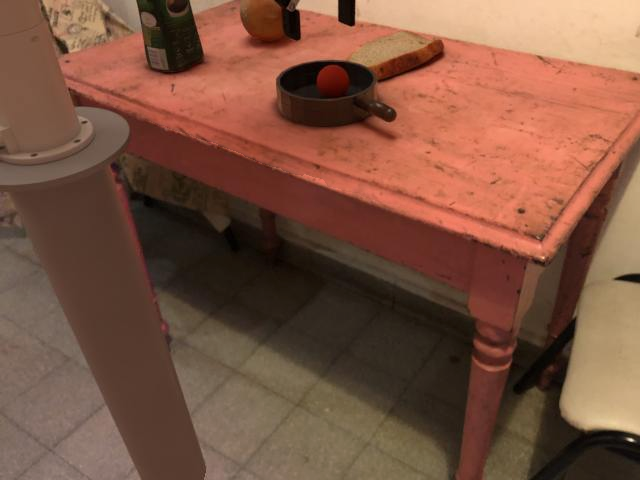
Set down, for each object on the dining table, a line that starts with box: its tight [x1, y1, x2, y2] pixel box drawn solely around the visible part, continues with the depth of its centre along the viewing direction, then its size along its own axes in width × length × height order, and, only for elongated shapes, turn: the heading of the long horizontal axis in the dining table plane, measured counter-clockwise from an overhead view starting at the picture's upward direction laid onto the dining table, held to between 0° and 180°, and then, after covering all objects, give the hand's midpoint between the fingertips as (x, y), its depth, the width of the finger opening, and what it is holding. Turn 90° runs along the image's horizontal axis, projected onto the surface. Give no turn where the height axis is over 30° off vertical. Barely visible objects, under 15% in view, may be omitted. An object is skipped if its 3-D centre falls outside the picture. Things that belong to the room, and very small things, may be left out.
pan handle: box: [354, 94, 398, 123], centre depth 83 cm, size 2×8×2 cm, turn 40°
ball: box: [317, 65, 349, 99], centre depth 90 cm, size 5×5×5 cm
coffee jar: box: [135, 0, 205, 73], centre depth 99 cm, size 10×8×19 cm
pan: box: [275, 59, 379, 127], centre depth 90 cm, size 15×15×4 cm
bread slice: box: [346, 29, 445, 81], centre depth 102 cm, size 18×18×4 cm
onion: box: [239, 0, 285, 43], centre depth 110 cm, size 10×10×10 cm
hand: (320, 31), depth 84 cm, fingers open, 9 cm apart
